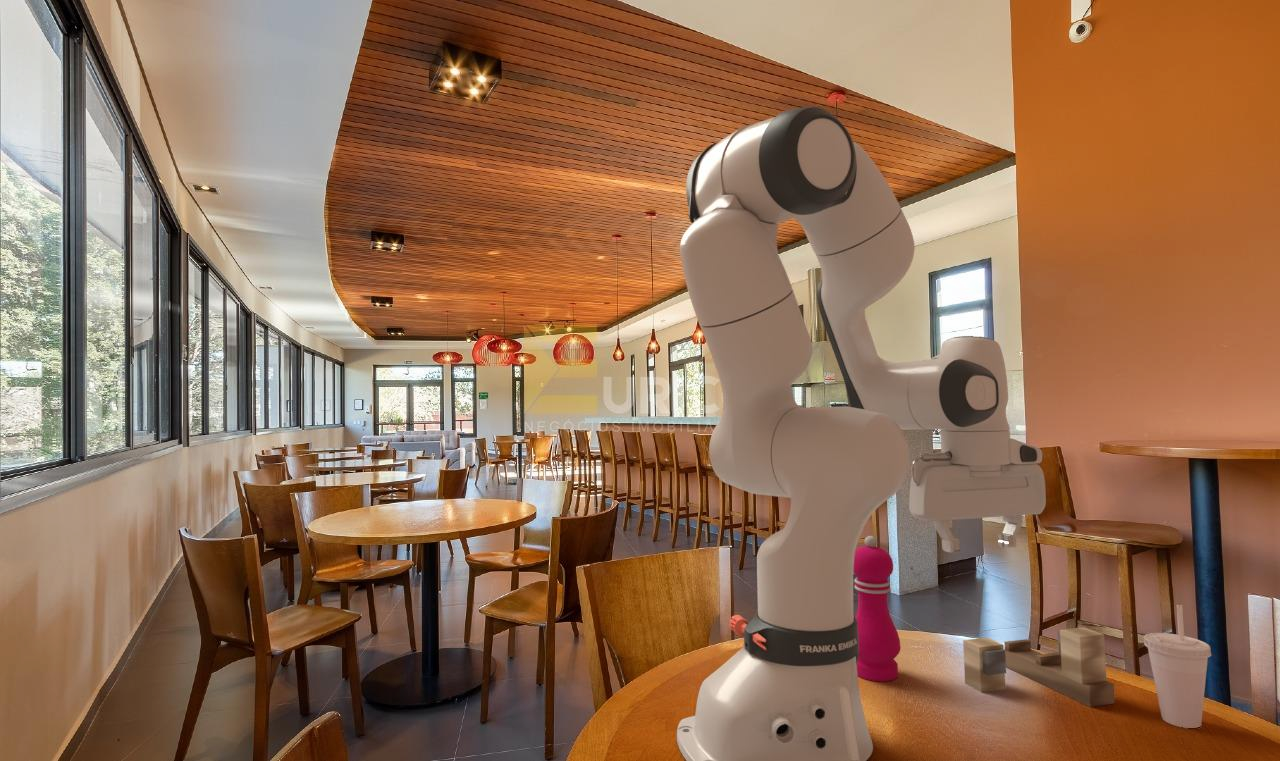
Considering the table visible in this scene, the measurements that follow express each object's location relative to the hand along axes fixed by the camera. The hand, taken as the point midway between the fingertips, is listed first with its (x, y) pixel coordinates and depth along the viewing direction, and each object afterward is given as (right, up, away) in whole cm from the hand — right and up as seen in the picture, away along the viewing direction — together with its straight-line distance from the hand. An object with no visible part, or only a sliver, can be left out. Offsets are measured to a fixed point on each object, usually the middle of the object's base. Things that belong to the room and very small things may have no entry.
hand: (979, 549), depth 91 cm
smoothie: (+18, -18, -12) cm, 28 cm away
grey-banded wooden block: (0, -19, -1) cm, 19 cm away
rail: (+10, -19, -1) cm, 21 cm away
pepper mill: (-13, -20, +4) cm, 24 cm away
